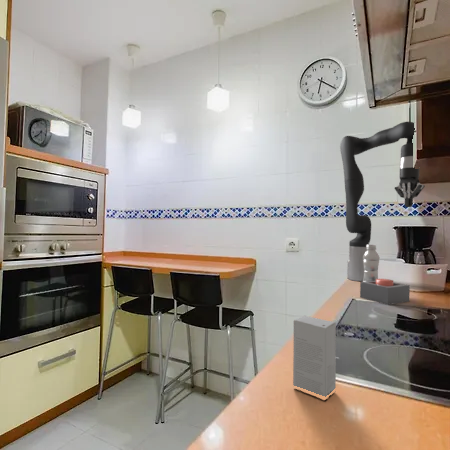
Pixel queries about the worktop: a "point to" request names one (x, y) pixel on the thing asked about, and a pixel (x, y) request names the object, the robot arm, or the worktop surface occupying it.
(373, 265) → the plastic bottle
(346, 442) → the worktop surface
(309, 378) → the skincare box
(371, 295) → the button box
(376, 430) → the worktop surface
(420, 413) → the worktop surface
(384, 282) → the button
